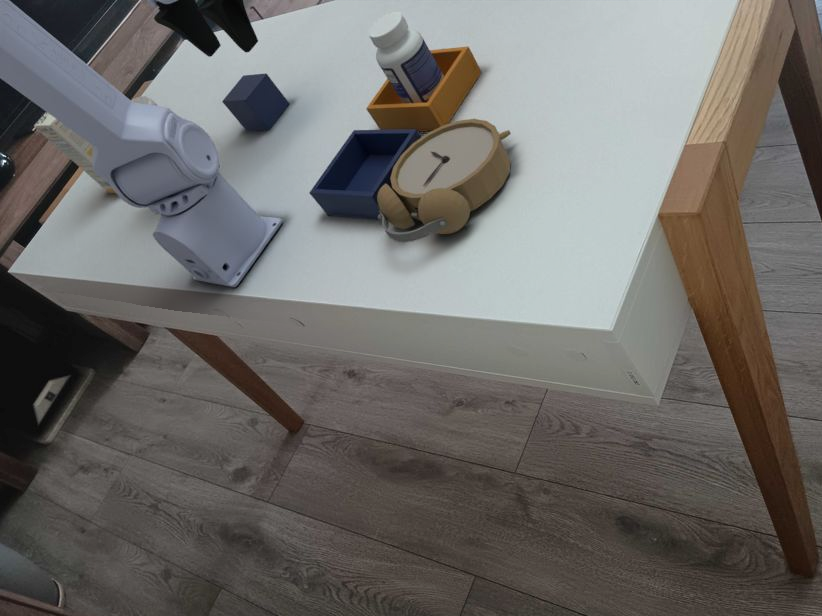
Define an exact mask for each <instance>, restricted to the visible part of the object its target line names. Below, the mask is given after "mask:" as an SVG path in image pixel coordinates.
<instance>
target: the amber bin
mask: <svg viewBox="0 0 822 616" xmlns="http://www.w3.org/2000/svg"><path fill="white" fill-rule="evenodd" d="M429 50H430V52H431V54H432V56H433V57H434V59H435V61H436V63H437V64H438V66H439V68H440V70H441V72H442V73H443V75H444V78H443V79H442V81H441V82H440V84H439V85H438V87H437V88H436V90H435V91H434V93H433V94H432V96H431V97H430V99H429V100H428V102H427V103H405V104H403V102H402V101H401V99H400V97H399V96H398V94H397V93H396V91H395V90H394V88H393V86H392V85H391V83H390V82H389V80H388V78H387V79H386V80H385V81H384V83H383V84H382V86H381V87H380V88H379V90H378V91H377V92H376V94H375V95H374V97H373V98H372V100H371V101H370V102H369V104H368V105H367V106H366V108H365V109H366V111H367V112H368V114H369V116H370V117H371V118H372V120H373V122H374V123H375V124H376V126H377V127H378V130H394V129H417V130H418V132H431V131H433V130H435V129H437V128H439V127H441V126H443V125H447V124H450V123H451V120H452V118H453V117H454V115H455V114H456V112H457V111H458V109H459V108H460V107H461V105H462V103H463V102H464V100H465V99H466V97H467V95H468V94H469V92H471V89H472V88H473V86H475V83H476V81H477V80H478V78H479V77H480V76H481V74H482V69H481V68H480V66H479V64H478V62H477V60H476V58H475V56H474V54H473V52H472V51H471V48H470V46H458V47H449V48H438V49H429Z"/></svg>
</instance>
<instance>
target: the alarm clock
mask: <svg viewBox="0 0 822 616" xmlns="http://www.w3.org/2000/svg"><path fill="white" fill-rule="evenodd" d="M510 135H511V131H510V130H509V129H508V130H505V131H502V132H500V133H499V131H498V129H497V127H496V126H495V125H494V124H493V123H491V122H489V121H487V120H485V119H484V120H483V119H477V118H469V119H461V120H456V121H454V122H449V123H448V124H447V125H443V126H441V127H439V128H437V129H435V130H433V131H428V132H427V133H426V134H424V135H423V136H421V138H420V139H419V140H417V141H416V142H414V143H413V144H412V145H411V146H410V147H409V148H408V149H407V150H406V151H405V152H404V153H403V154H402V155H401V156H400V158H399V159H398V161H397V162H396V164H395V165H394V167H393V170H392V174H391V178H390V179H391V184H392V188H393V190H394V191H395V192H396V194H397V195H398V196H397V195H396V194H395V192H394V191H393V190H392V189H391V188H390V187H389V186H388V185H387V184H384V185H383V186H382V187H381V188H380V190H379V192H378V195H377V201H378V205H379V208H380V210H379V212H380V214H379V215H378V219H377V220H379V221H381V225H382V229H383V230H384V232H385V233H386V234H387V236H388V237H389V239H391V240H393V241H395V242H400V243H408V242H414V241H417V240H420V239H423V238H425V237H427V236H429V235H430V234H432V233H436V234H441V235H448V234H449V235H450V234H455V233H456V232H459V231H460V230H461V229H462V228H464V227H465V225H466V224H467V222H468V220H469V218H470V214H471V212H473V211H475V210H476V209H478V208H479V207H481V206H482V205H483V204H485V203H486V202H488V201H489V200H490V199H492V198H493V197H494V195H495V194H496V193H497V192H498V191H499V190H501V188H502V187H503V186H504V185H505V182H506V180H507V179H508V176H509V174H510V172H511V165H512V164H511V162H512V160H511V159H510V158H511V157H510V156H509V154H508V152H507V149H505V146H504V143H503V142H502V141H503V140H505V139H506V138H508V137H509V136H510ZM398 197H399V198H398ZM381 212H382V213H381ZM385 218H386V219H387V220H386V219H385ZM414 220H417V221H420V222H421V223H422V224H423V226H421V227H418V228H416V229H413V230H409V231H404V232H400V231H399V232H397V231H394V230H391V229H389V228H390V227H389V226H390V225H392V226H394V227H395V228H398V229H401V230H402V229H403V230H405V229H411V228H412V227H415V221H414Z"/></svg>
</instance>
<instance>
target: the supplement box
mask: <svg viewBox="0 0 822 616" xmlns="http://www.w3.org/2000/svg"><path fill="white" fill-rule="evenodd" d="M33 126H34V128H35V129H36V130H37V131H38V132H40V133H41V134H42V136H43V137H45V138H46V139H47V140H48V141H49V142H51V143H52V144H53V145H54V146H55V147H56V148H58V150H60V151H61V152H62V153H63V154H64V155H66V156H67V158H69V159H70V160H71V161H72V162H73V163H74V164H75V165H76V166H78V168H80V169H81V170H82V171H83V172H84V173H86V174H87V175H88V176H89V177H90V178H91V179H92V180H93V181H94V182H96V184H97V185H99V186H100V187H101V188H102V189H104V190H105V191H106V192H107V193H108V194H116V192H115V191H114V190H113V188H112V187H111V185H110V184H109V183H108V182H107V181H106V180H105V179H104V178H102V177H101V176H100V175H98V174H97V173H95V172H94V170H93V163H92V149H93V145H92V144H90V143H89V142H87V141H86V140H85V139H83V138H82V137H81V136H79V135H78V134H76V133H75V132H74V131H72V130H71V129H70V128H68V127H67V126H65V125H64V124H63V123H61V122H60V121H59V120H57V119H56V118H54V117H53V116H52V115H50V114H49V113H48V112H46V111H45V112H44V114H43V115H42V116H41V117H40V118H39V119H38V120H37V122H36V123H35V124H34V125H33Z"/></svg>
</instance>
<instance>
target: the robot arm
mask: <svg viewBox="0 0 822 616" xmlns="http://www.w3.org/2000/svg"><path fill="white" fill-rule="evenodd" d="M146 2H148V4H149V5H150V6H151V8H158V12H157V13H156V14H155V15H154V17H153V20H154V21H155V22H156V24H159V25H161V26H164V27H166V28H168V29H170V30H172V31H173V32H175V33H177V34H178V35H180V36H181V37H183V38H184V39H185V40H186V41H188V42H189V43H190V44H192V45H193V46H194V47H196V48H197V49H198V50H199V51H201V52H202V53H203V54H204V55H205V56H207V57H208V58H210V57H213V56H214V54H216V52H217V51H218V50H219V48H220V47H221V46H222V45H221V43H220V41H219V38H218V37H217V35H216V34H215V32H214V31H213V29H212V28H211V26H210V25H209V23H208V22H207V20H206V19H205V18H207V19H209V20H210V21H211V22H213V23H214V24H216V25H217V26H218V27H219V28H220V29H221V30H223V31H224V33H226V34H227V36H228V37H229V38H230V39H231V40H232V41H233V42H234V44H235V45H236V46H238V48H239V49H240V50H242V51H243V52H244V53H250V52H251V51H252V50H253V49H254V47H255V46H256V44H258V43H259V40H258V37H257V34H256V32H255V30H254V27H253V25H252V23H251V20H250V18H249V15H248V13H247V9H246V7H245V3H244V0H203V1H202V2H201V4H200V5H198V3H197V1H196V0H146ZM0 80H1V81H4V82H5V83H6V84H7V85H9V86H10V87H12V88H13V89H14V90H16V91H17V92H19V94H21V95H23V96H24V97H25V98H27V99H28V100H30V102H32V103H34V104H35V105H37V106H38V107H40V108H41V109H42V110H43V111H45V113H46V112H48V113H49V114H50V115H52V116H53V117H54V118H56V119H57V120H59V121H60V122H61V123H63V124H64V125H65V126H67V127H68V128H70V129H71V130H72V131H74V132H75V133H76V134H78V135H79V136H81V137H82V138H83V139H85V140H86V141H87V142H89V143H90V144H92V145H93V149H92V163H93V170H94V172H95V173H97V174H98V175H100V176H101V177H102V178H104V179H105V180H106V181H107V182H108V183H109V184H110V185H111V187H112V188H113V190H114V191H115V192H116V193H115V194H116V195H117V196H118V197H119V199H120V200H122V201H123V202H124V203H126V204H128V205H130V206H131V207H134V208H138V209H145V208H148V210H150V212H152V213H153V215H157V214H160V215H159V219H158V222H157V225H156V227H155V229H154V230H153V231H152V236H153V238H154V240H155V241H156V243H157V244H158V245H159V246H160V247H161V248H162V249H163V250H164V251H165V252H166V253H168V254H169V255H170V256H171V258H173V259H175V261H176V262H177V263H179V264H180V265H181V266H182V267H183V268H184V269H186V270H187V272H189V273H190V274H191V275H192V278H193V280H195V281H199V282H203V283H210V284H215V285H219V286H225V287H230V288H236V287H237V286H239V284H240V282H241V281H242V280H243V278H244V277H245V276H246V275H247V273H248V272H249V270H250V269H251V267H252V266H253V265H254V263H255V262H256V260H257V259H258V258H259V256H260V254H261V253H262V252H263V251H264V249H265V248H266V246H267V245H268V244H269V242H270V241H271V240H272V238H273V237H274V235H275V234H276V233H277V231H278V230H279V228H280V227H281V225H282V224H283V220H282V218H280V217H272V216H262V215H259V214H258V213H257V212H256V211H255V210H254V209H253V208H252V207H251V205H250V204H249V203H248V202H247V201H246V200H245V198H243V197H242V196H241V194H240V193H239V192H238V191H237V190H236V189H235V188H234V186H232V185H231V184H230V183H229V181H228V180H227V179H226V178H225V177H224V176H223V175H222V174H221V173H220V172H219V170H220V166H221V165H220V157H219V153H218V149H217V147H216V145H215V143H214V140H213V139H212V138H211V136H210V135H209V133H208V132H207V131H206V130H205V129H203V127H201V126H200V125H199V124H197V123H196V122H194V121H192V120H189V119H186V118H183V117H181V116H179V115H178V114H177V113H175V112H174V111H173V110H172V109H170V108H169V107H167V106H161V105H158V106H156V105H148V104H140V103H135V102H132V101H131V100H132V99H129V97H127V96H126V95H125V94H124V93H123V92H122V91H120V90H118V89H117V88H116V87H115V86H114V85H113V84H112V83H110V82H109V81H107V80H106V79H105V78H104V77H103V76H102V75H101V74H99V73H98V72H97V71H95V70H94V69H93V68H92V67H90V66H89V64H87V63H86V62H85V61H84V60H83V59H81V58H80V57H79V56H78V55H76V54H75V53H74V52H73V51H71V50H70V49H69V48H68V47H66V45H64V44H63V43H62V42H60V40H58V39H57V38H56V37H54V36H53V35H52V34H51V33H49V32H48V31H47V30H46V29H45V28H43V26H41V25H40V24H39V23H37V21H35V20H34V19H33V18H32V17H30V16H29V15H28V14H26V13H25V12H24V11H23V9H20V8H19V7H18V6H17V5H16V4H14V3H13V2H12V1H11V0H0Z"/></svg>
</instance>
